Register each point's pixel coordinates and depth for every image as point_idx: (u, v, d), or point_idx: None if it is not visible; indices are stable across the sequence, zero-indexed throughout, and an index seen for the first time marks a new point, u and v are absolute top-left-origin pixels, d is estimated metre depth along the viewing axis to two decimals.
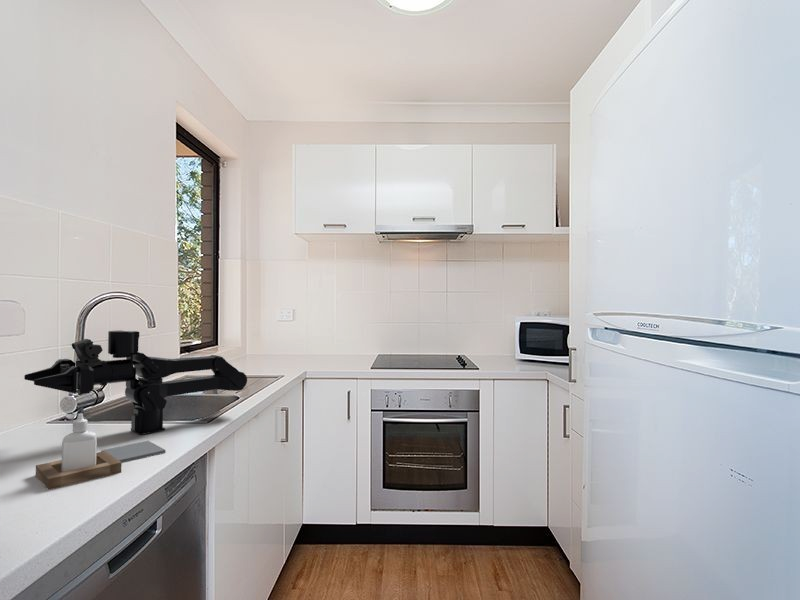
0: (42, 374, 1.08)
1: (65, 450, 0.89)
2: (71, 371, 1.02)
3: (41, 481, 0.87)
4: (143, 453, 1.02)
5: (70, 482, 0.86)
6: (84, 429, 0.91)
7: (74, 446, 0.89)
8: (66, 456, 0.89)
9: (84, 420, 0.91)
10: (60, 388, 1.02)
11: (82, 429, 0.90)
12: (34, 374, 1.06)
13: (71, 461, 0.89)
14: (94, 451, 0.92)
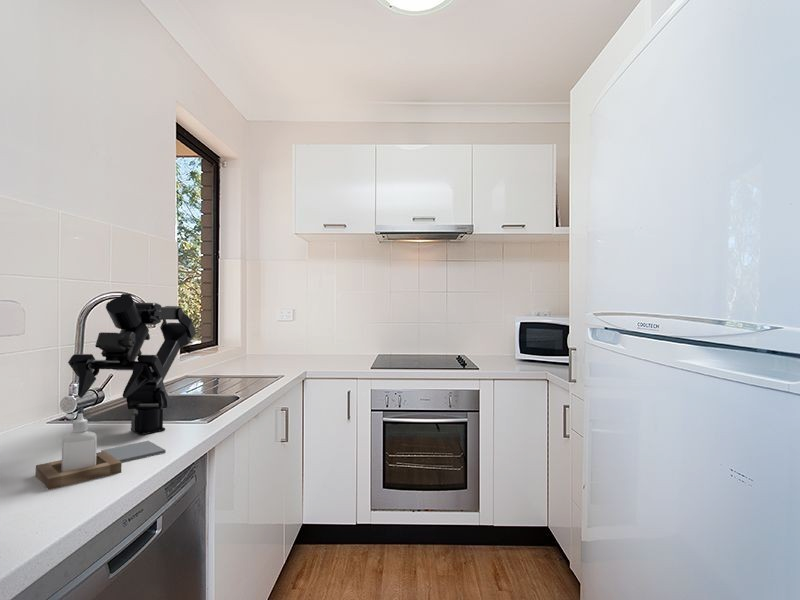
0: (85, 382, 1.01)
1: (65, 450, 0.89)
2: (142, 368, 1.03)
3: (41, 481, 0.87)
4: (143, 453, 1.02)
5: (70, 482, 0.86)
6: (84, 429, 0.91)
7: (74, 446, 0.89)
8: (66, 456, 0.89)
9: (84, 420, 0.91)
10: (140, 384, 1.04)
11: (82, 429, 0.90)
12: (83, 388, 1.00)
13: (71, 461, 0.89)
14: (94, 451, 0.92)
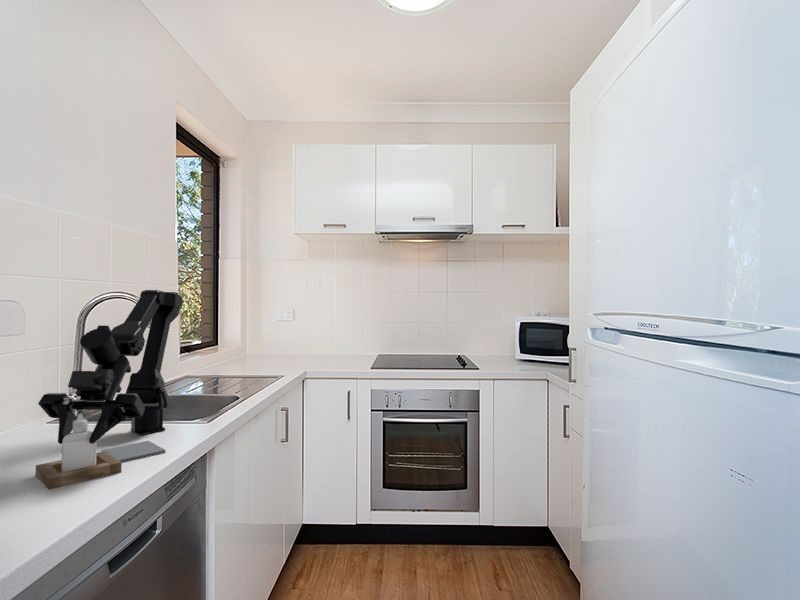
0: (66, 426, 0.92)
1: (65, 450, 0.89)
2: (112, 409, 0.93)
3: (41, 481, 0.87)
4: (143, 453, 1.02)
5: (70, 482, 0.86)
6: (84, 429, 0.91)
7: (73, 446, 0.89)
8: (66, 456, 0.89)
9: (84, 420, 0.91)
10: (111, 427, 0.94)
11: (82, 429, 0.90)
12: (63, 433, 0.90)
13: (71, 461, 0.89)
14: (94, 451, 0.92)
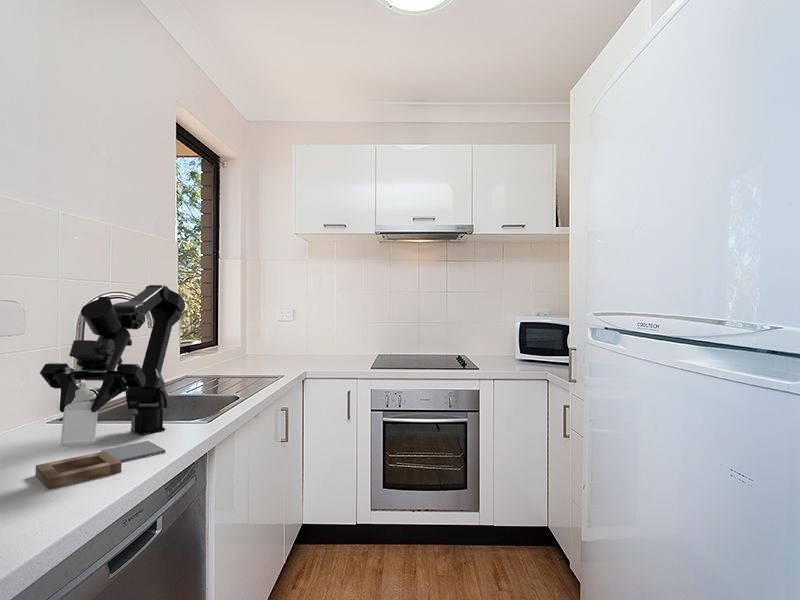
0: (67, 395, 0.92)
1: (66, 418, 0.89)
2: (113, 379, 0.93)
3: (41, 481, 0.87)
4: (143, 453, 1.02)
5: (70, 482, 0.86)
6: (87, 399, 0.91)
7: (75, 414, 0.89)
8: (67, 425, 0.89)
9: (87, 389, 0.92)
10: (112, 397, 0.95)
11: (84, 398, 0.91)
12: (65, 402, 0.91)
13: (72, 429, 0.89)
14: (95, 421, 0.92)
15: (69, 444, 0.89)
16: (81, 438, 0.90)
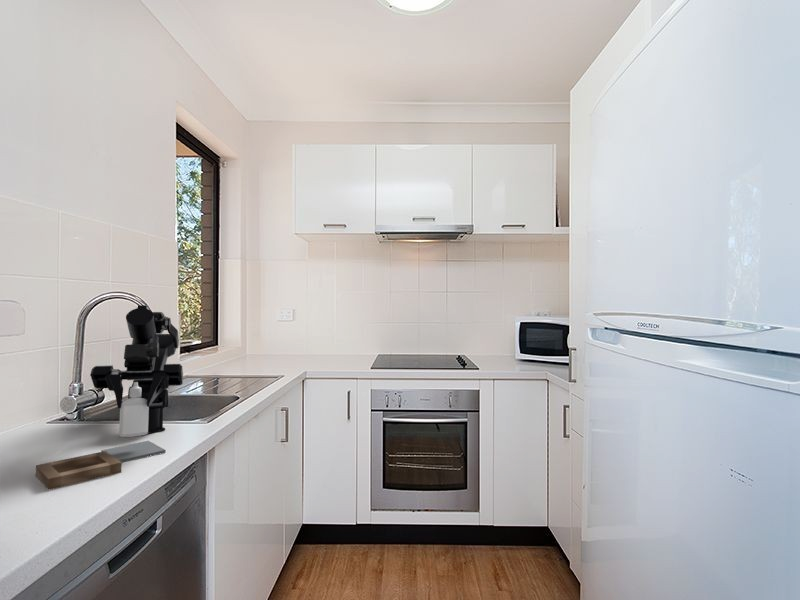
0: None
1: (125, 412, 1.02)
2: (161, 377, 1.08)
3: (41, 481, 0.87)
4: (143, 453, 1.02)
5: (70, 482, 0.86)
6: (140, 395, 1.05)
7: (133, 408, 1.03)
8: (126, 418, 1.02)
9: (139, 387, 1.05)
10: (158, 393, 1.09)
11: (138, 395, 1.04)
12: (120, 399, 1.03)
13: (130, 422, 1.02)
14: (148, 414, 1.05)
15: (129, 435, 1.02)
16: (138, 429, 1.03)
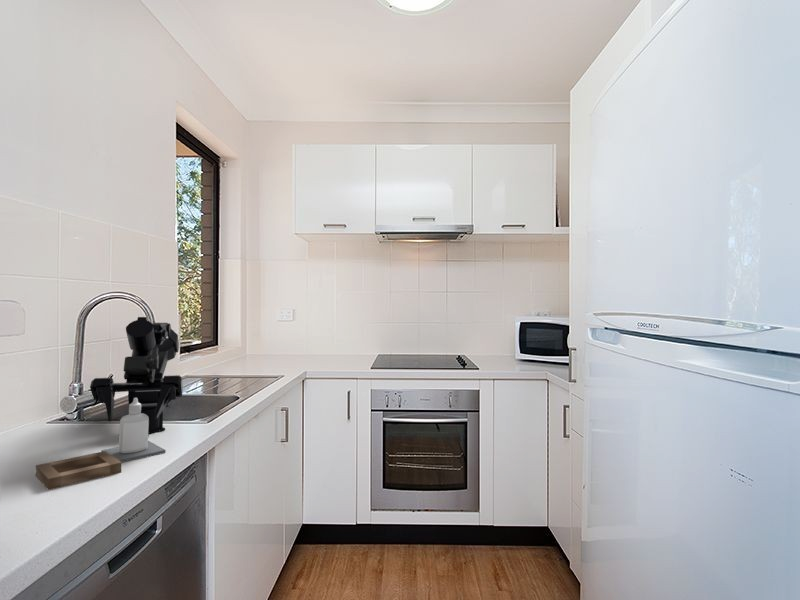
0: None
1: (124, 430, 1.01)
2: (169, 389, 1.08)
3: (41, 481, 0.87)
4: (143, 453, 1.02)
5: (70, 482, 0.86)
6: (140, 411, 1.03)
7: (132, 426, 1.02)
8: (125, 435, 1.01)
9: (139, 403, 1.04)
10: (166, 404, 1.09)
11: (138, 411, 1.03)
12: (111, 412, 1.02)
13: (130, 439, 1.02)
14: None
15: (128, 452, 1.02)
16: (138, 445, 1.03)
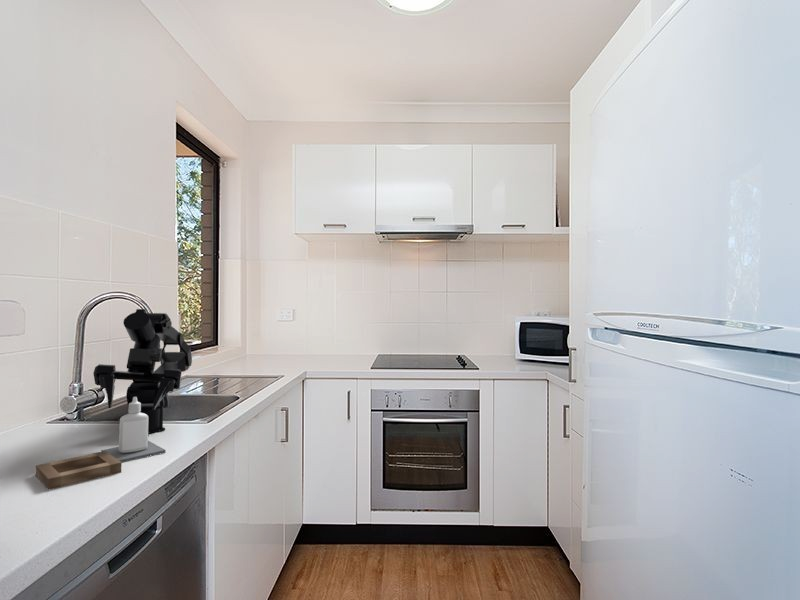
0: (111, 393, 1.08)
1: (124, 428, 1.01)
2: (168, 382, 1.13)
3: (41, 481, 0.87)
4: (143, 453, 1.02)
5: (70, 482, 0.86)
6: (139, 410, 1.04)
7: (132, 424, 1.02)
8: (125, 434, 1.01)
9: (139, 402, 1.04)
10: (163, 396, 1.14)
11: (137, 410, 1.04)
12: (111, 399, 1.07)
13: (130, 438, 1.02)
14: (147, 429, 1.05)
15: (128, 451, 1.02)
16: (138, 445, 1.03)
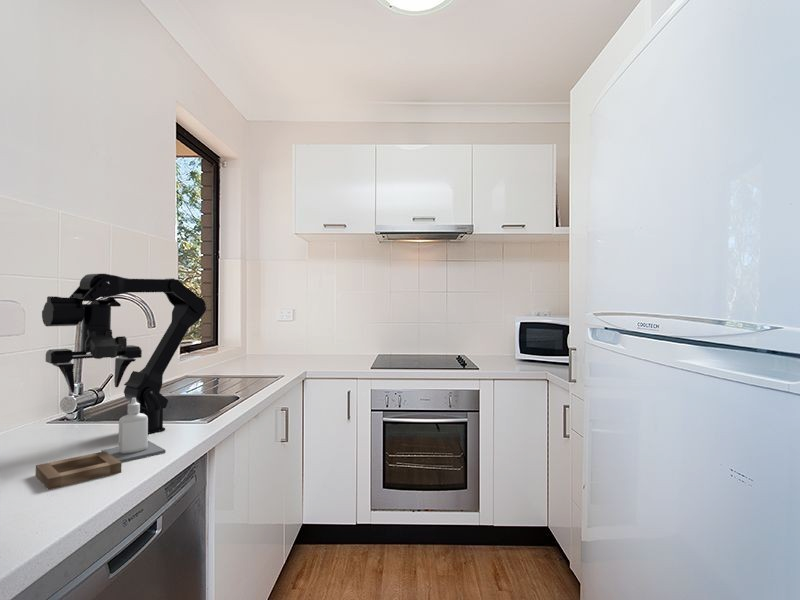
0: None
1: (123, 429, 1.01)
2: None
3: (41, 481, 0.87)
4: (143, 453, 1.02)
5: (70, 482, 0.86)
6: (139, 411, 1.04)
7: (131, 425, 1.02)
8: (125, 435, 1.01)
9: (138, 403, 1.04)
10: None
11: (137, 411, 1.03)
12: None
13: (130, 439, 1.02)
14: (147, 429, 1.05)
15: (128, 451, 1.02)
16: (138, 445, 1.03)
